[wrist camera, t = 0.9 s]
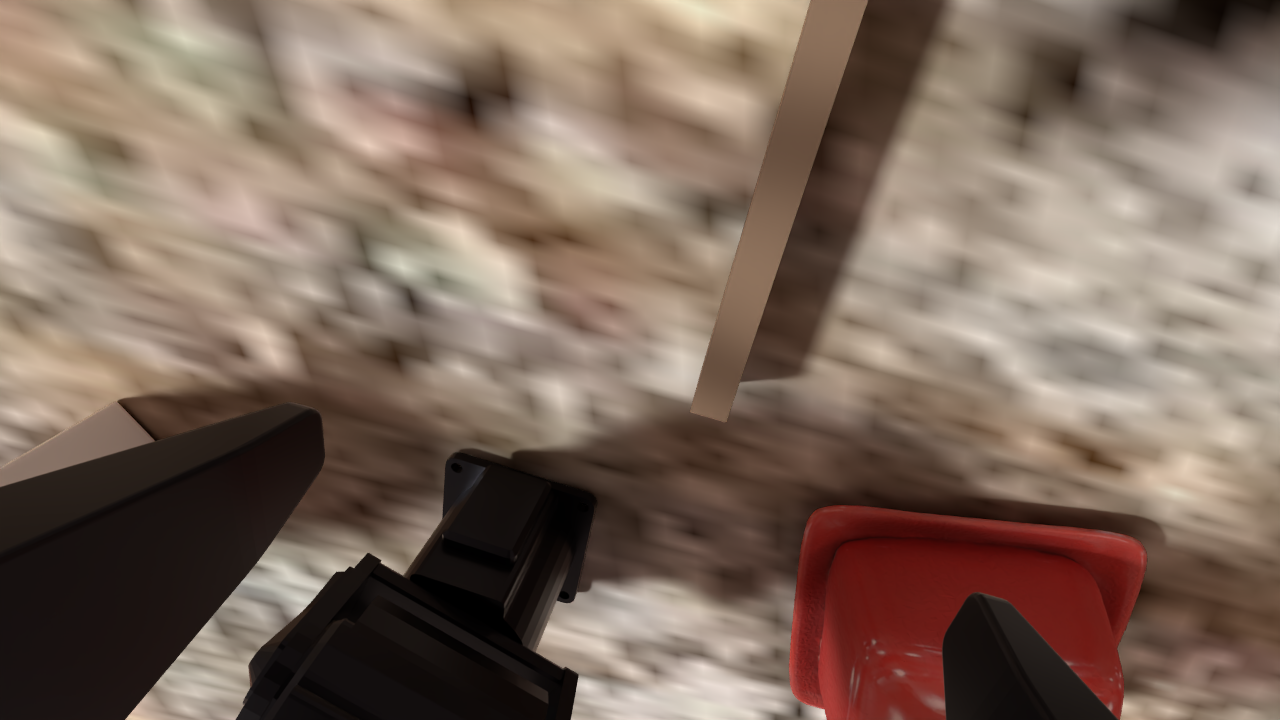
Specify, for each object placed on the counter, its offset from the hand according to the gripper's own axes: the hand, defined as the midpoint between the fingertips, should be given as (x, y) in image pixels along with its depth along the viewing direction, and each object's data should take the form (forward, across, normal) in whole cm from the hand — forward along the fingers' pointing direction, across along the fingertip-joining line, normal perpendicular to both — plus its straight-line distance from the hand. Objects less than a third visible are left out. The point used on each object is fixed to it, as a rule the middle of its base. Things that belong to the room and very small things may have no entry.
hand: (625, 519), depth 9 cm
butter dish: (+14, -12, +13) cm, 23 cm away
